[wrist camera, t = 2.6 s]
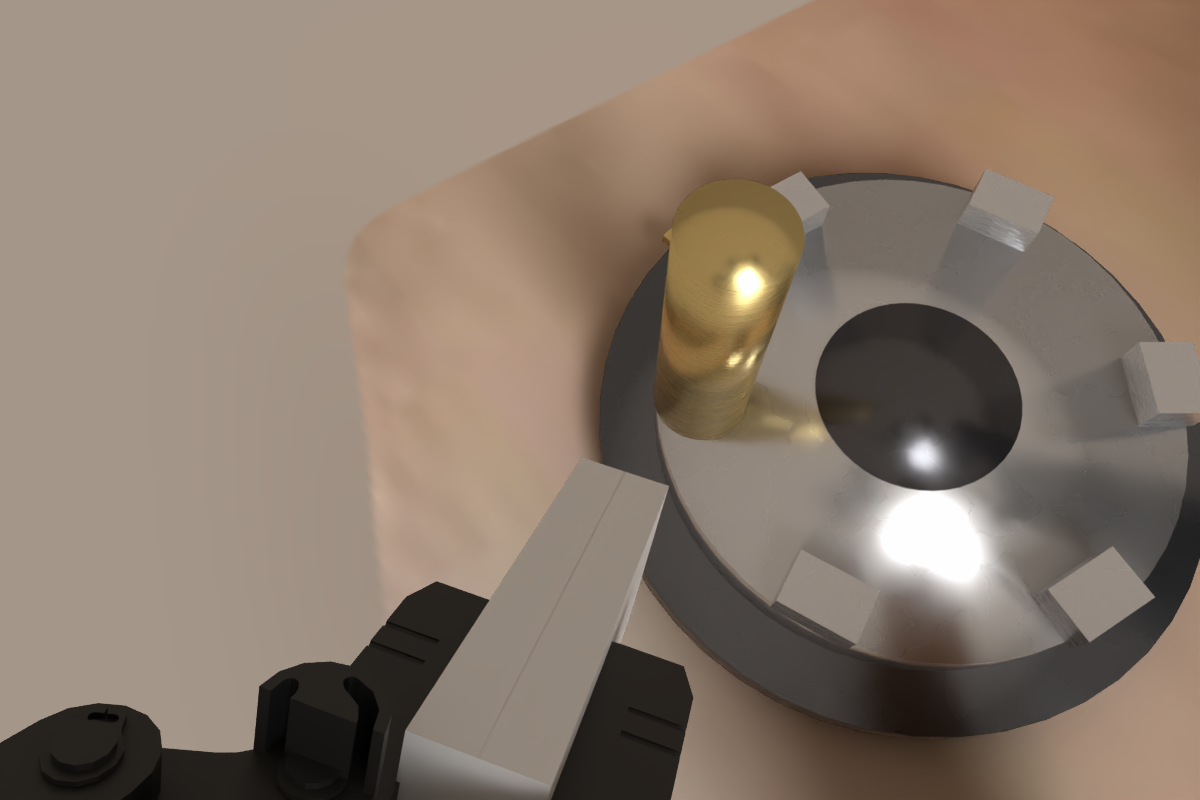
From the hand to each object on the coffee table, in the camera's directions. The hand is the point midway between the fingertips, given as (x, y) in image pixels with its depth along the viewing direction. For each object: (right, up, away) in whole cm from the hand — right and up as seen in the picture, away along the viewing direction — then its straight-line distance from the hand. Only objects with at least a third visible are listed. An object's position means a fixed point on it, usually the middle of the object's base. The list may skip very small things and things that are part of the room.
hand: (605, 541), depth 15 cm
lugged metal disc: (+11, +2, +17) cm, 21 cm away
